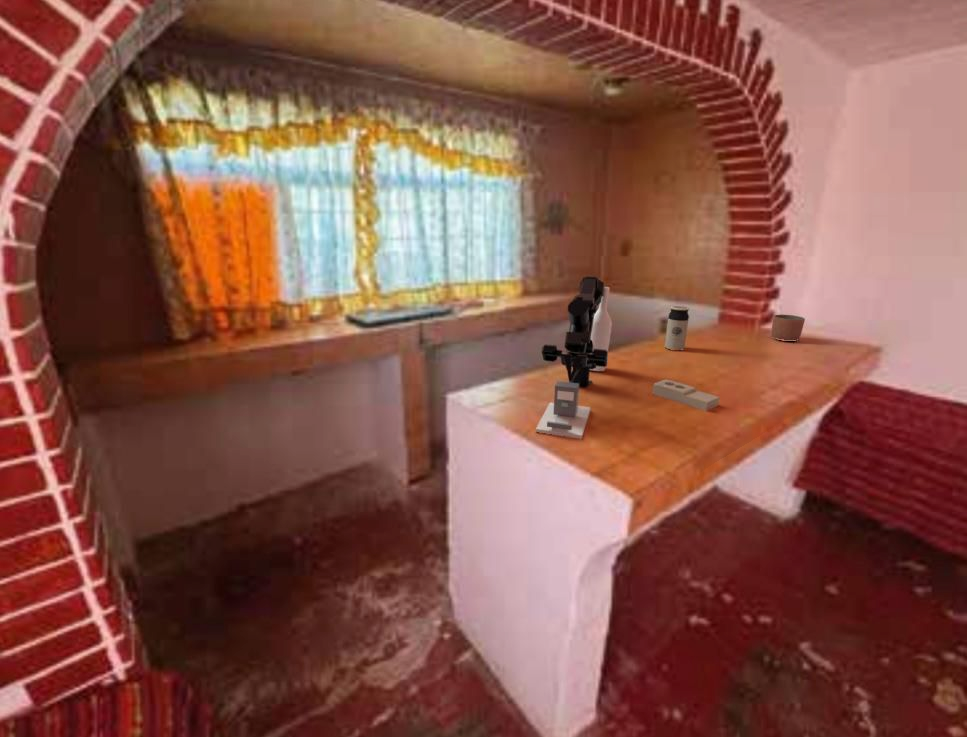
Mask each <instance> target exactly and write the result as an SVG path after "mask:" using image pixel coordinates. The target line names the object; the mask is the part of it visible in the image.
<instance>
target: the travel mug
mask: <svg viewBox="0 0 967 737" xmlns="http://www.w3.org/2000/svg"><path fill="white" fill-rule="evenodd" d="M689 310H690V307H688V306H684V305H683V306H682V305H671V306H670V312H669V313H668V318H667V325H666V332H665V342H664V348H665V347H666V348H669V349H675V350H681V349H684V350H685V348H686V340H687V332H688V325H689V319H690V315H689V313H688V312H689ZM666 348H665V349H666ZM681 351H682V350H681Z"/></svg>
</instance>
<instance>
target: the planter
mask: <svg viewBox="0 0 967 737" xmlns="http://www.w3.org/2000/svg"><path fill="white" fill-rule="evenodd" d="M805 321H806V318H805V317H803V316H799V315H792V314H774V315H773V319H772V325H771V337H774V338H778V339H784V340H797V339H798V340H799V339H800V338H801V336H802V332H803V328H804V325H805ZM798 340H797V341H798Z"/></svg>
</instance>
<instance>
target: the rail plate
mask: <svg viewBox="0 0 967 737" xmlns="http://www.w3.org/2000/svg"><path fill="white" fill-rule="evenodd" d="M590 413H591V407H590V406H589V407H588V406H583V405H578V408H577V414H576V417H568V416H561V415H553V414H554V402H549V404H548V405H547V407H546V409H545V411H544V413H543V415H542V417H540V419H539V422H538V424H537V425H536V428H535V433H536V432H539V433H538V434H543V433H546V434H545V435H550V434H552V436H557V435H558V436H559V437H564V436H565V438H573V439H580V440H582V439H583V436H584V433H585V430H586V426H587V422H588V419H589V416H590ZM558 436H557V437H558Z"/></svg>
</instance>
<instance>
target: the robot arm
mask: <svg viewBox="0 0 967 737" xmlns="http://www.w3.org/2000/svg"><path fill="white" fill-rule="evenodd" d="M599 278H600V277H597V276H591V275H587V276H586V275H585V276H583V277H582V279H581V280H580V281H579V288H578V294H577V295H574V297H573V299H572V301H570V302H569V303H568V305H567V315H568V321H569V329H568V330H569V331H566V333H565V339H564V349H563V348H562V349H558V348H557V344H547V343H546V344H544V345H543V346H542V347H541V355H542V359H543V361H544V362H553V363H554V362H556V361H557V360H558V357H559V358H560V361H561V365H563V366H565V369H566V372H567V376H568V382H570V383H579V388H580V387H581V388H587V387H588V386H590V385H591V384H593V381H592V380H590V371H591V370H590V369H594V368H596V366H601V367H605V368H606V367H607V366H608V361H609V360H608V359H609V357H608V356H609V355H608V354H609V351H608V352H607V350H603V349H594V351H593V343H592V340H591V333H592V327H593V321H594V315H595V314H596V312H597V311H598V307H599V305H600V303H601V299H602V296H604V290H605V287H606V286H605V282H604V281H602V280H601V279H599Z"/></svg>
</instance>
